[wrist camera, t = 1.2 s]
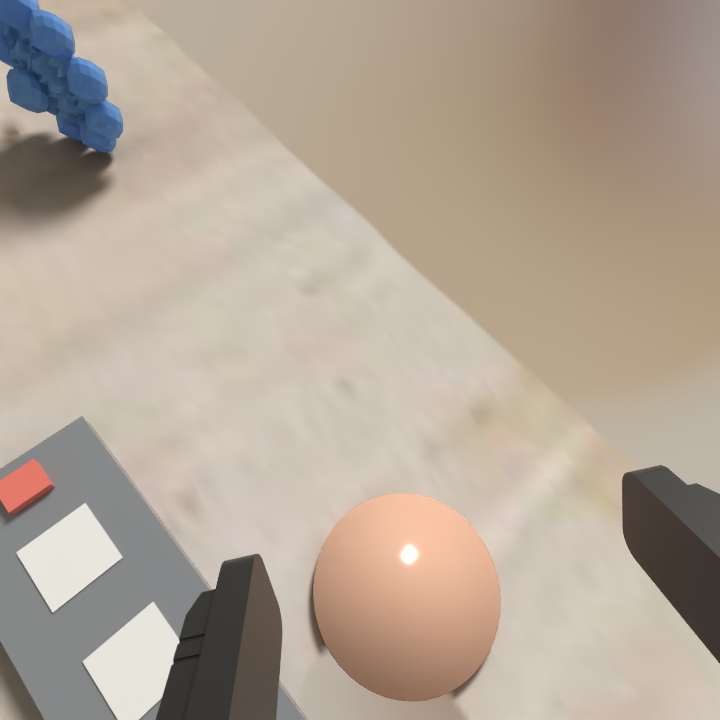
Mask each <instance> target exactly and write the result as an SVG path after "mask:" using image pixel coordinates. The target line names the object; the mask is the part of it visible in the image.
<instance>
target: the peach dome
mask: <svg viewBox="0 0 720 720" xmlns="http://www.w3.org/2000/svg"><path fill="white" fill-rule="evenodd" d="M313 602H314V609H315V616H316V620H317V623H318V627H319V630H320V633H321V635H322V638H323V640H324V642H325V644H326V646H327V648H328V650H329V651H330V653H331V655H332V656H333V658H334V659H335V660H336V661H337V663H338V664H339V666H340V667H341V668H342V669H343V670H344V671H345V672H346V673H347V674H348V675H349V676H350V677H351V678H353V679H354V680H355V681H356V682H358V683H359V684H360V685H362V686H363V687H365V688H367V689H368V690H370V691H372V692H374V693H376V694H379V695H381V696H384V697H387V698H391V699H395V700H401V701H422V700H428V699H432V698H436V697H439V696H442V695H444V694H446V693H449V692H451V691H453V690H454V689H456V688H457V687H459V686H460V685H462V684H463V683H464V682H465V681H467V680H468V679H469V678H470V677H471V676H472V675H473V674H474V673H475V672H476V670H477V669H478V668H479V667H480V666H481V664H482V663H483V661H484V660H485V658H486V656H487V655H488V653H489V651H490V648H491V646H492V644H493V642H494V639H495V635H496V632H497V629H498V623H499V618H500V603H501V602H500V588H499V582H498V576H497V573H496V569H495V566H494V563H493V560H492V558H491V556H490V553H489V551H488V549H487V547H486V546H485V544H484V542H483V540H482V539H481V537H480V536H479V535H478V533H477V532H476V530H475V529H474V528H473V527H472V526H471V525H470V524H469V523H468V522H467V520H465V519H464V518H463V517H462V516H461V515H460V514H459V513H457V512H456V511H454V510H453V509H451V508H450V507H449V506H447V505H445V504H443V503H441V502H439V501H437V500H434V499H432V498H429V497H426V496H422V495H417V494H409V493H393V494H387V495H382V496H379V497H375V498H372V499H370V500H368V501H366V502H364V503H361V504H360V505H358V506H357V507H355V508H354V509H352V510H351V511H350V512H349V513H347V514H346V515H345V516H344V517H343V518H342V519H341V520H340V521H339V522H338V523H337V525H336V526H335V527H334V528H333V530H332V531H331V533H330V534H329V536H328V537H327V539H326V541H325V543H324V545H323V547H322V550H321V552H320V555H319V558H318V561H317V565H316V570H315V575H314V584H313Z"/></svg>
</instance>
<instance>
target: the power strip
mask: <svg viewBox="0 0 720 720" xmlns="http://www.w3.org/2000/svg"><path fill="white" fill-rule="evenodd" d="M209 590H212V589H211V587H210V586H209V585H208V583H207V582H206V581H205V579H204V578H203V576H202V575H201V574H200V572H199V571H198V570H197V568H196V567H195V566H194V564H193V563H192V562H191V560H190V559H189V557H188V556H187V555H186V553H185V552H184V551H183V549H182V548H181V547H180V545H179V544H178V543H177V541H176V540H175V538H174V537H173V536H172V534H171V533H170V532H169V530H168V529H167V528H166V526H165V525H164V524H163V522H162V521H161V519H160V518H159V517H158V515H157V514H156V513H155V511H154V510H153V509H152V507H151V506H150V505H149V503H148V502H147V501H146V499H145V498H144V496H143V495H142V494H141V492H140V491H139V490H138V488H137V487H136V486H135V484H134V483H133V482H132V480H131V479H130V477H129V476H128V475H127V473H126V472H125V471H124V469H123V468H122V467H121V465H120V464H119V463H118V461H117V460H116V458H115V457H114V456H113V454H112V453H111V452H110V450H109V449H108V448H107V446H106V445H105V444H104V442H103V441H102V439H101V438H100V437H99V435H98V434H97V433H96V431H95V430H94V429H93V427H92V426H91V425H90V424H89V423H88V422H87V421H86V420H85V419H84V418H83V417H82V416H81V417H80V418H78V419H77V420H75V421H74V422H72V423H71V424H69V425H67V426H66V427H64V428H63V429H61V430H60V431H58V432H57V433H55V434H54V435H52V436H50V437H49V438H47V439H46V440H44V441H43V442H41V443H40V444H38V445H37V446H35V447H33V448H32V449H30V450H29V451H27V452H26V453H24V454H23V455H21V456H20V457H18V458H16V459H15V460H13V461H12V462H10V463H9V464H7V465H6V466H4V467H3V468H1V469H0V642H1V643H2V645H3V647H4V649H5V651H6V652H7V654H8V656H9V658H10V660H11V661H12V663H13V665H14V667H15V668H16V670H17V672H18V674H19V676H20V677H21V679H22V681H23V683H24V685H25V686H26V688H27V690H28V692H29V693H30V695H31V697H32V699H33V701H34V702H35V704H36V706H37V708H38V710H39V711H40V713H41V715H42V717H43V719H44V720H156V717H157V713H158V710H159V706H160V703H161V699H162V696H163V692H164V689H165V685H166V682H167V679H168V675H169V672H170V668H171V665H173V658H174V654H175V651H176V648H177V644H179V637H180V634H181V630H182V627H183V623H184V620H185V617H186V614H187V613H188V611H189V610H190V608H191V607H192V605H193V604H194V603H195V601H196V600H197V598H198V597H199V595H200V594H201V592H205V591H209ZM276 720H308V719H307V718H306V716H305V715H304V713H303V712H302V711H301V709H300V708H299V707H298V705H297V704H296V703H295V701H294V700H293V699H292V697H291V696H290V694H289V693H288V692H287V690H286V689H285V688H284V686H283V685H282V684H281V682H280V681H279V688H278V701H277V715H276Z"/></svg>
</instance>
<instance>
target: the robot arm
mask: <svg viewBox="0 0 720 720" xmlns="http://www.w3.org/2000/svg"><path fill="white" fill-rule="evenodd" d="M622 511H623V534H624V538H625V541H626V544H627V546H628V548H629V550H630V552H631V554H632V555H633V557H634V558H635V560H636V561H637V562H638V564H639V565H640V566H641V567H642V568H643V570H644V571H645V572H646V573H647V575H648V576H649V577H650V578H651V580H652V581H653V582H654V583H655V584H656V586H657V587H658V588H659V589H660V591H661V592H662V593H663V594H664V595H665V597H666V598H667V599H668V600H669V602H670V603H671V604H672V605H673V607H674V608H675V609H676V610H677V611H678V613H679V614H680V615H681V616H682V618H683V619H684V620H685V621H686V623H687V624H688V625H689V626H690V627H691V629H692V630H693V631H694V632H695V634H696V635H697V636H698V637H699V639H700V640H701V641H702V642H703V643H704V645H705V646H706V647H707V648H708V650H709V651H710V652H711V653H712V655H713V656H714V657H715V658H716V659H717V661H718V662H719V663H720V494H718V493H716V492H714V491H712V490H710V489H708V488H705V487H703V486H701V485H699V484H692V485H687V484H686V483H684V482H683V481H682V480H681V479H680V478H679V477H677V476H676V475H675V474H674V473H673V472H672V471H670V470H669V469H668V468H667V467H665V466H662V465H659V466H654V467H650V468H645V469H641V470H636V471H632V472H627V473H625V474H624V476H623V479H622ZM281 646H282V621H281V614H280V609H279V605H278V602H277V599H276V596H275V594H274V591H273V588H272V585H271V582H270V580H269V577H268V574H267V571H266V568H265V566H264V563H263V560H262V558H261V556H260V555H259V554H254V555H249V556H245V557H240V558H236V559H231V560H227V561H224V562H223V563H222V565H221V569H220V573H219V577H218V582H217V586H216V589H214V590H209V591H205V592H201V594H200V595H199V597H198V598H197V600H196V601H195V603H194V604H193V605H192V607H191V608H190V610H189V611H188V613H187V614H186V617H185V620H184V623H183V627H182V630H181V634H180V637H179V644H177V648H176V651H175V654H174V658H173V665H171V668H170V672H169V675H168V679H167V682H166V685H165V689H164V692H163V696H162V699H161V703H160V706H159V710H158V713H157V717H156V720H276V715H277V701H278V688H279V674H280V660H281Z"/></svg>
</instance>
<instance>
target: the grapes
mask: <svg viewBox="0 0 720 720" xmlns="http://www.w3.org/2000/svg"><path fill="white" fill-rule="evenodd" d="M74 53H75V41H74V37H73V32H72V29H71V26H70V25H69V24H67V23H66V22H65V21H63V20H62V19H61V18H59V17H58V16H56V15H55V14H52V13H49V12H47V11H44V10H40V9H39V5H38V1H37V0H0V60H1V61H2V62H4V63H6V64H7V65H9V66H11V67H13V68H14V69H10V70H9V72H8V74H7V76H6V77H7V88H8V93H9V97H10V101H11V102H13V103H15V104H17V105H19V106H21V107H23V108H25V109H27V110H29V111H32V112H36V113H41V112H46V111H47V112H49V113H51V114H53V115H56V120H57V124H58V128H59V132H61V133H62V134H64V135H66V136H68V137H70V138H72V139H75V140H79V141H82V142H83V144H85V145H87V146H89V147H91V148H93V149H95V150H97V151H101V152H104V153H106V152H111V151H113V149H114V148H115V146H116V138H119V137H120V135H121V133H122V132H123V121H122V116H121V112H120V109H119V108H118V107H116V106H115V105H113V104H112V103H110V102H108V101H106V100H105V99H106V98H107V96H108V85H107V80H106V76H105V73H104V71H103V70H102V69H101V68H99V67H98V66H96V65H95V64H93V63H92V62H90V61H88V60H85V59H82V58H79V57H76V58H75V57H74V56H73V55H74Z"/></svg>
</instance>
